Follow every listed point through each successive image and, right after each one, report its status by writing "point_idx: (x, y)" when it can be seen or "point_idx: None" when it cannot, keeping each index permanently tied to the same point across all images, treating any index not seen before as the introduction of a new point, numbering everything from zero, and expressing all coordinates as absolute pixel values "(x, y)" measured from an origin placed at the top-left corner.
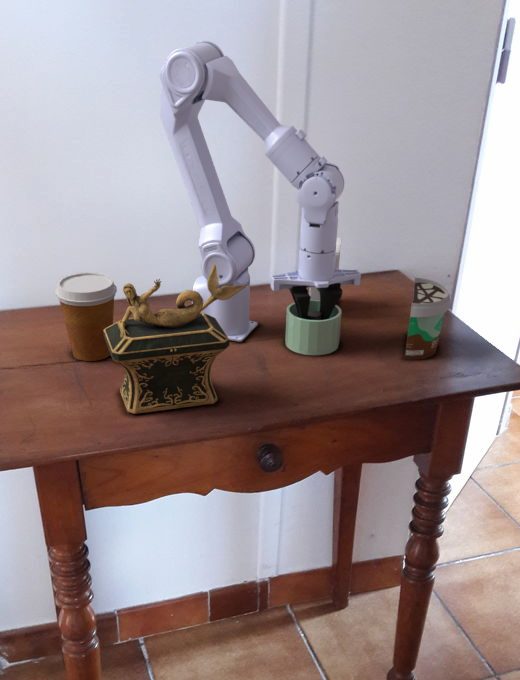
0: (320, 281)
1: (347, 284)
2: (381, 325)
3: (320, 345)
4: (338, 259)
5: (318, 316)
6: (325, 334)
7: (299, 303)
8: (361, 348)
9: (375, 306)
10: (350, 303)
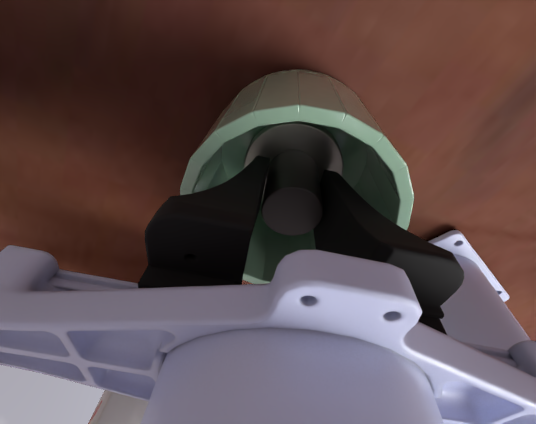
0: (342, 332)
1: (94, 275)
2: (69, 179)
3: (317, 78)
4: (100, 407)
5: (288, 186)
6: (300, 86)
7: (418, 237)
8: (156, 64)
9: (74, 256)
10: (126, 280)
